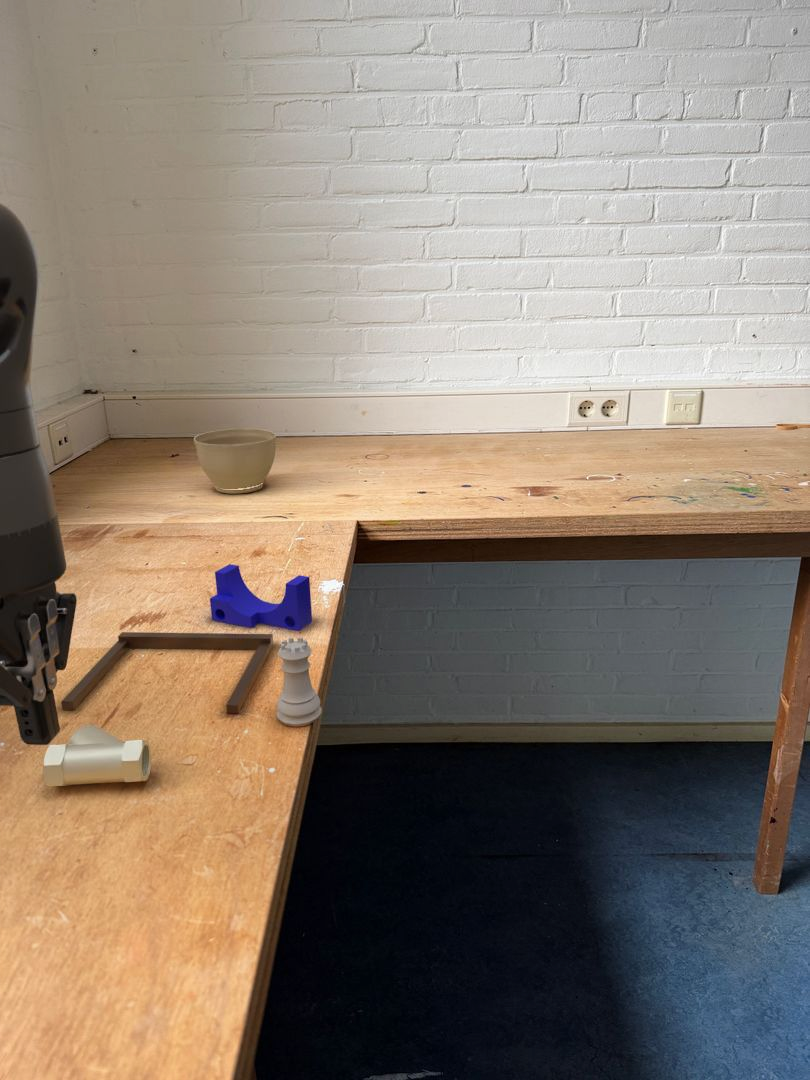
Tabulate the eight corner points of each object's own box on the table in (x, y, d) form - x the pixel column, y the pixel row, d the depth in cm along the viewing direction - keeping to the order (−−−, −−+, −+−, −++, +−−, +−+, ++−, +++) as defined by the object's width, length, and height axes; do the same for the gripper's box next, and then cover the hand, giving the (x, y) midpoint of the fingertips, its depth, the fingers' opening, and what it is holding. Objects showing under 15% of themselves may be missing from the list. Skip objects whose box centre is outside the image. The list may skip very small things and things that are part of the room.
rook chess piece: (331, 712, 79) (327, 639, 77) (301, 733, 76) (296, 657, 73) (297, 700, 82) (292, 628, 79) (267, 719, 78) (260, 646, 76)
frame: (62, 710, 81) (60, 696, 80) (123, 643, 95) (121, 631, 95) (238, 713, 79) (237, 700, 79) (273, 645, 94) (272, 633, 93)
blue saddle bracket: (212, 620, 101) (207, 576, 99) (233, 607, 105) (229, 564, 103) (292, 636, 96) (289, 589, 94) (312, 621, 100) (309, 576, 98)
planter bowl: (219, 504, 152) (213, 447, 148) (187, 487, 164) (181, 435, 161) (294, 489, 160) (290, 436, 157) (258, 474, 173) (254, 425, 169)
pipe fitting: (73, 756, 74) (46, 797, 67) (68, 717, 73) (40, 755, 66) (161, 751, 74) (143, 791, 68) (157, 712, 73) (138, 749, 67)
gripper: (-3, 491, 60) (38, 694, 66) (-125, 549, 48) (-62, 794, 53) (93, 490, 60) (126, 695, 65) (-5, 547, 47) (46, 795, 53)
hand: (42, 739), depth 59 cm, fingers closed
